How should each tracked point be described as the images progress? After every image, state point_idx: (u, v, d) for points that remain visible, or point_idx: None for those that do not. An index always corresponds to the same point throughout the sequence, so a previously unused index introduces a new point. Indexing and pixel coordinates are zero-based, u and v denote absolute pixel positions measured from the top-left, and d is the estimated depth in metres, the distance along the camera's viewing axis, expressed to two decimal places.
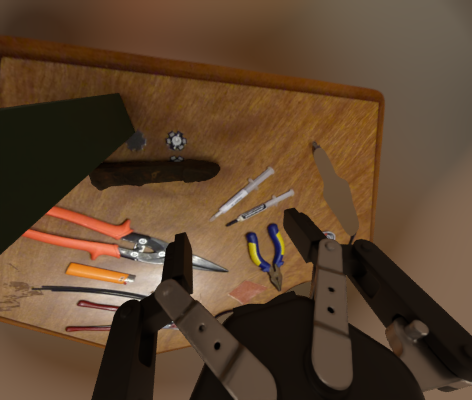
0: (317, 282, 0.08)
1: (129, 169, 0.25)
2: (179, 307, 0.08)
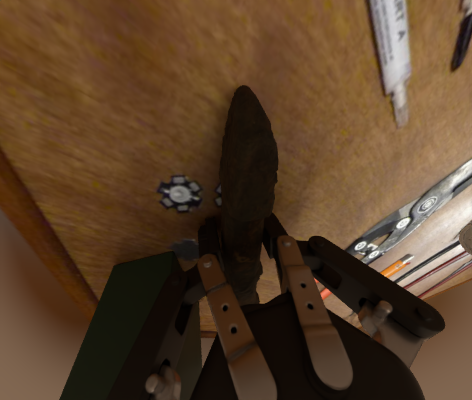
0: (290, 283, 0.08)
1: None
2: (213, 281, 0.09)
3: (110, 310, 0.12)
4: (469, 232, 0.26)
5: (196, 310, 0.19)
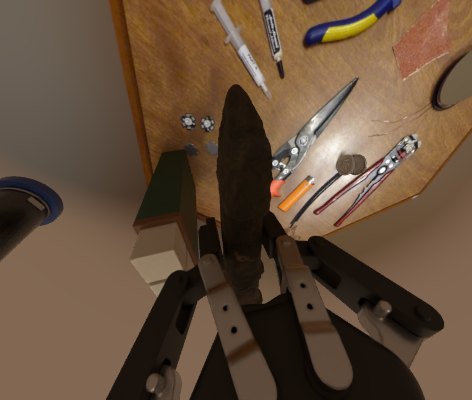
0: (289, 283, 0.08)
1: (230, 282, 0.14)
2: (213, 281, 0.09)
3: (164, 158, 0.35)
4: (339, 162, 0.49)
5: (194, 184, 0.42)
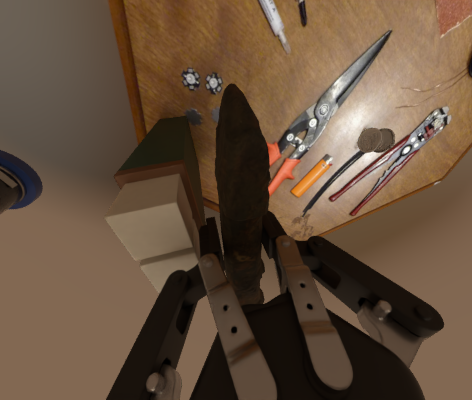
0: (289, 283, 0.08)
1: (231, 282, 0.14)
2: (214, 281, 0.09)
3: (162, 122, 0.29)
4: (362, 138, 0.43)
5: None
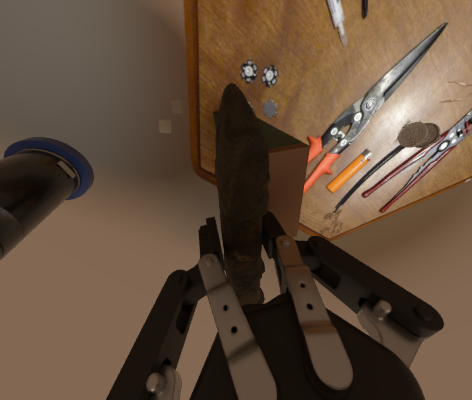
0: (289, 283, 0.08)
1: (231, 281, 0.14)
2: (214, 281, 0.09)
3: None
4: (403, 133, 0.43)
5: None
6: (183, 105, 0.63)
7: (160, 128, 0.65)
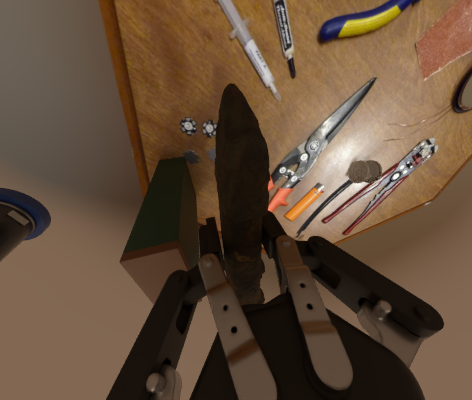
0: (289, 283, 0.08)
1: (231, 282, 0.14)
2: (214, 281, 0.09)
3: (162, 167, 0.31)
4: (351, 169, 0.45)
5: (194, 194, 0.38)
6: None
7: None
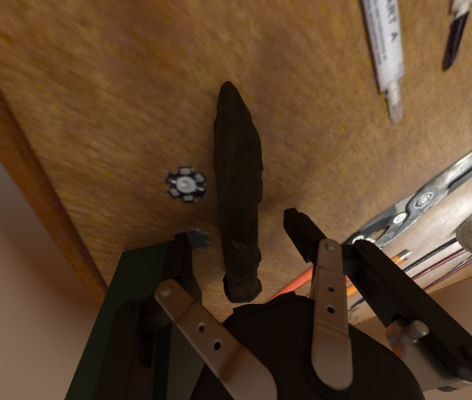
0: (317, 282, 0.08)
1: (229, 270, 0.15)
2: (179, 307, 0.08)
3: (121, 291, 0.13)
4: (466, 229, 0.27)
5: (199, 298, 0.20)
6: None
7: None
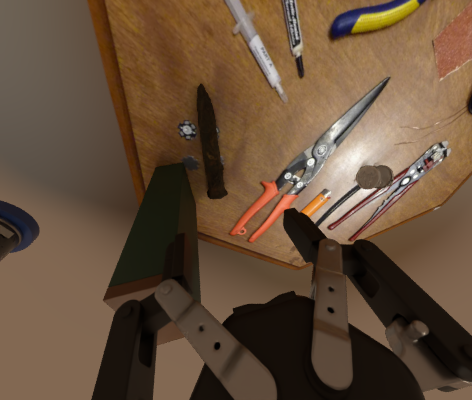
0: (317, 282, 0.08)
1: (208, 174, 0.31)
2: (179, 307, 0.08)
3: (158, 175, 0.29)
4: (360, 174, 0.43)
5: (194, 202, 0.36)
6: None
7: None
